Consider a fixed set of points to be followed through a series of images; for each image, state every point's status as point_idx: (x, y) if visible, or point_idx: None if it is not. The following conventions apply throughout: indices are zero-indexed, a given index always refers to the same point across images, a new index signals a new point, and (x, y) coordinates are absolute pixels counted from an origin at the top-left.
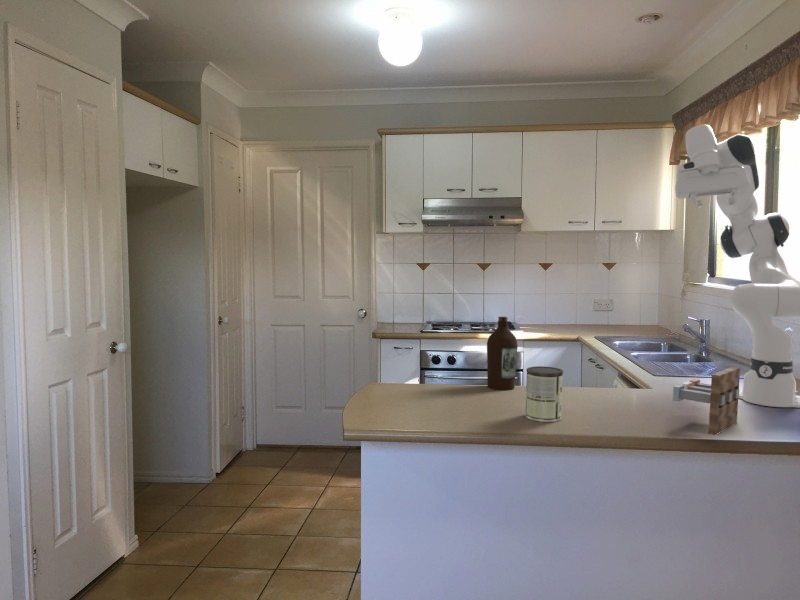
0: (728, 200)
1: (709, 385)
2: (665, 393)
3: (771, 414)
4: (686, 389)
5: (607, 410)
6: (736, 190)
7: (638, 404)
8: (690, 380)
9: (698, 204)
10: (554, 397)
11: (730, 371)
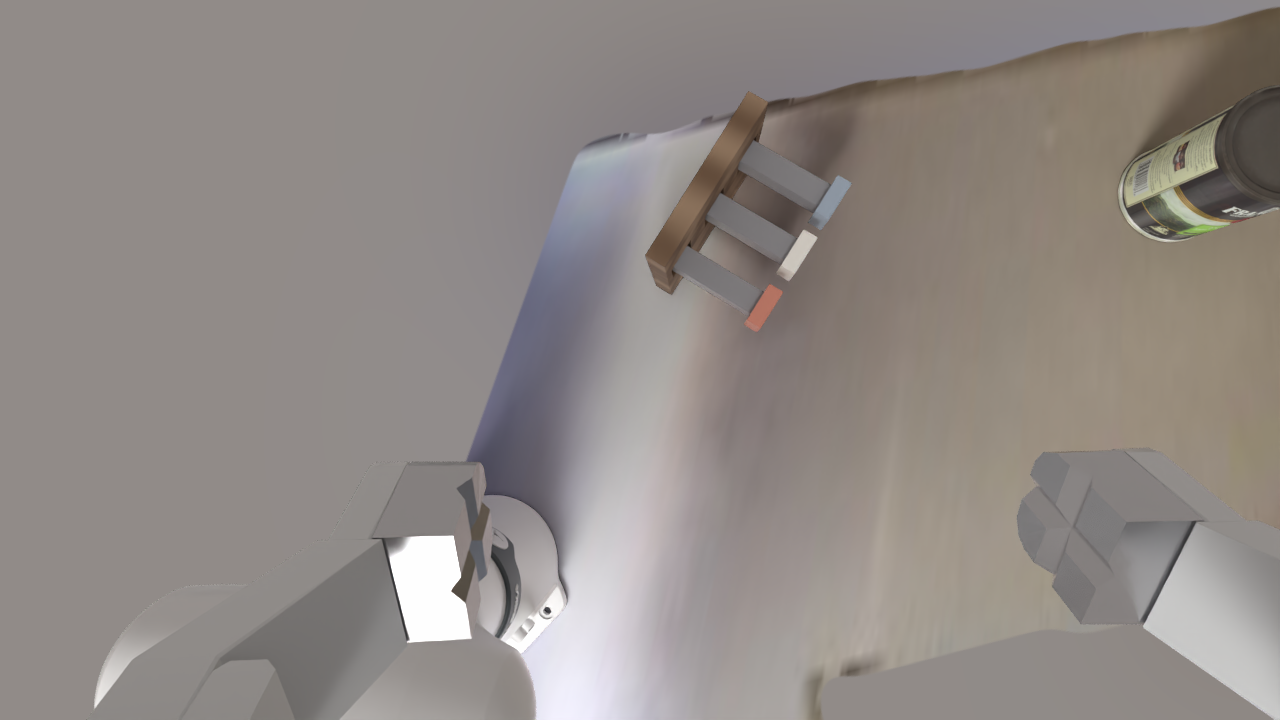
0: (468, 632)
1: (728, 278)
2: (774, 610)
3: (536, 410)
4: (811, 196)
5: (981, 327)
6: (129, 705)
7: (882, 428)
8: (780, 296)
9: (1125, 453)
10: (1187, 130)
11: (695, 175)
